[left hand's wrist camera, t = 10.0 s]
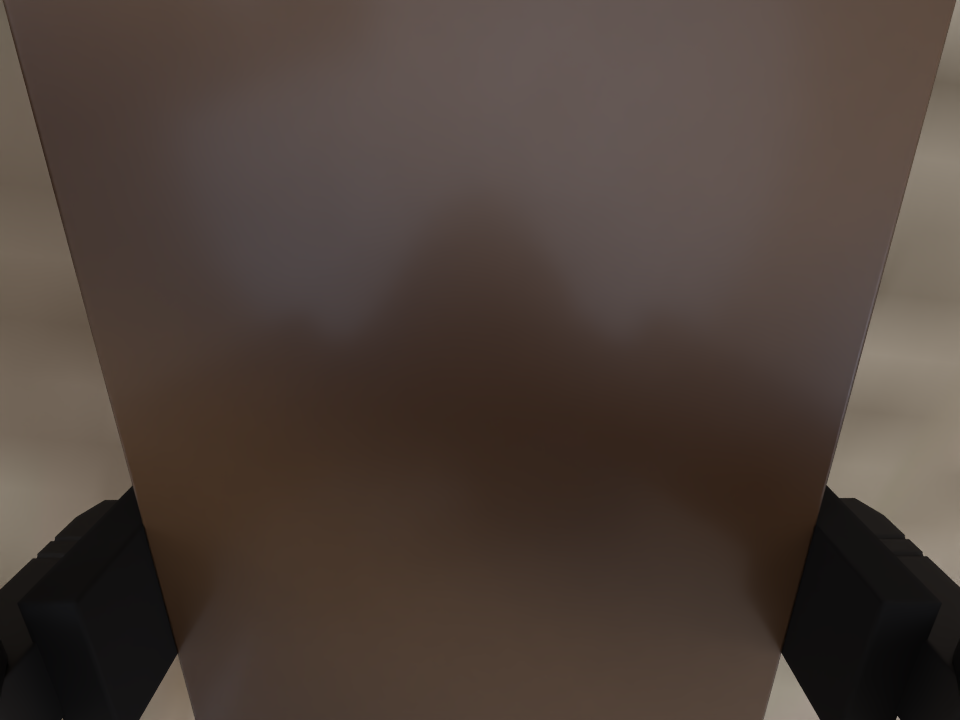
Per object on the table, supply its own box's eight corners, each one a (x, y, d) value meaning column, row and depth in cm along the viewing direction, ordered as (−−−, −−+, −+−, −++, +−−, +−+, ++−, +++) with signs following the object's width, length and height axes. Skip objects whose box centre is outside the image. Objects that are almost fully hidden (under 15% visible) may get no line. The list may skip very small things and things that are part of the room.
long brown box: (280, -132, 15) (-215, -793, 4) (678, -131, 15) (1172, -791, 4) (340, 447, 21) (202, 755, 11) (618, 447, 21) (756, 754, 11)
